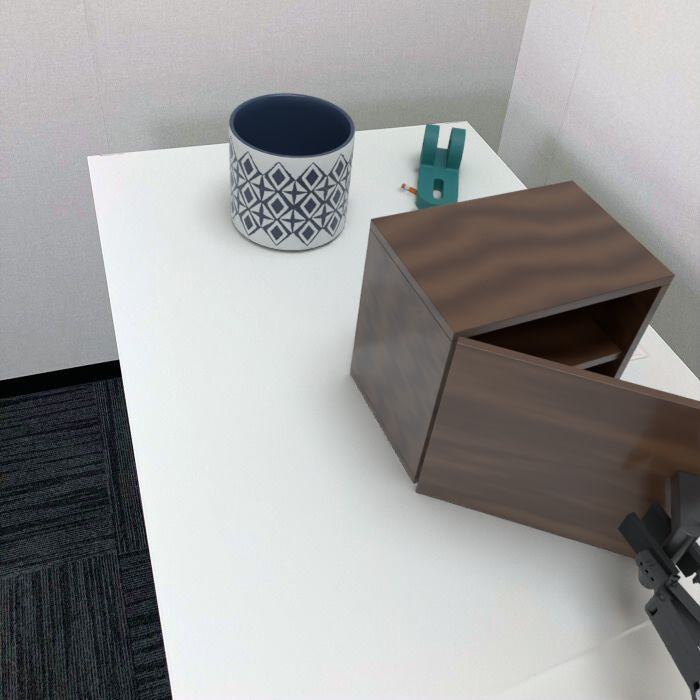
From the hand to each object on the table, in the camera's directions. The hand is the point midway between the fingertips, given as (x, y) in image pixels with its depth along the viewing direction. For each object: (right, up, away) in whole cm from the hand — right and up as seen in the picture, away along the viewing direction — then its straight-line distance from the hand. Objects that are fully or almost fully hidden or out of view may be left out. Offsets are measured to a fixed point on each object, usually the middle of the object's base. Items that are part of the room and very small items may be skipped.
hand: (638, 516), depth 71 cm
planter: (-37, +37, +47) cm, 70 cm away
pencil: (-12, +39, +53) cm, 67 cm away
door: (-9, -6, +9) cm, 13 cm away
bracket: (-13, +44, +57) cm, 73 cm away
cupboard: (-12, +10, +23) cm, 28 cm away
